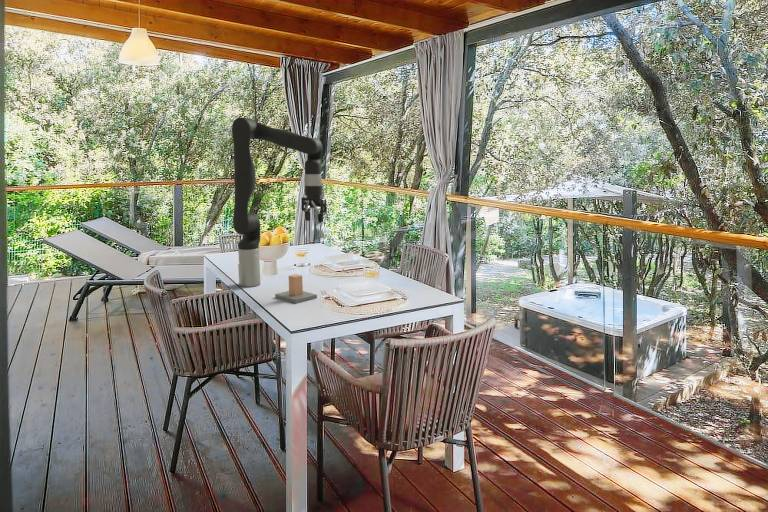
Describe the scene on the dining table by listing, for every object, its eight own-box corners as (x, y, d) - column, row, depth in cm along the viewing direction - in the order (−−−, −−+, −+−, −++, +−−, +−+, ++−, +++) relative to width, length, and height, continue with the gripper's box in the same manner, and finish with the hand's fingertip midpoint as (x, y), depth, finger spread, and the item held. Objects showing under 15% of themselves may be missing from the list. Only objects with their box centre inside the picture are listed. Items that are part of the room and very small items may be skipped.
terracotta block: (289, 294, 229) (288, 275, 228) (296, 292, 232) (296, 274, 231) (295, 296, 227) (294, 277, 225) (302, 294, 229) (302, 275, 228)
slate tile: (275, 297, 230) (275, 294, 230) (295, 292, 238) (295, 289, 238) (296, 303, 221) (296, 299, 221) (316, 298, 229) (316, 294, 229)
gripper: (296, 184, 240) (297, 221, 243) (317, 185, 230) (318, 223, 233) (309, 183, 245) (310, 219, 248) (330, 184, 236) (331, 222, 239)
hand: (314, 221), depth 241 cm, fingers open, 8 cm apart
